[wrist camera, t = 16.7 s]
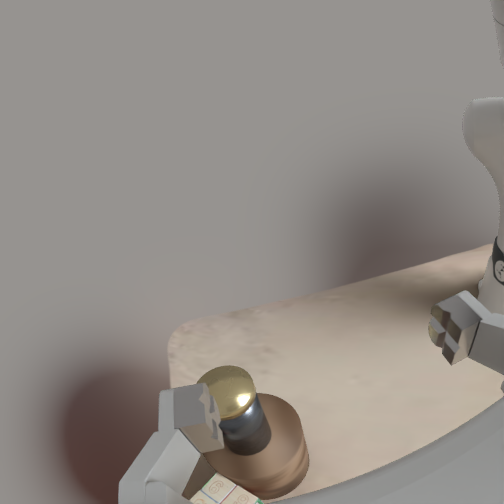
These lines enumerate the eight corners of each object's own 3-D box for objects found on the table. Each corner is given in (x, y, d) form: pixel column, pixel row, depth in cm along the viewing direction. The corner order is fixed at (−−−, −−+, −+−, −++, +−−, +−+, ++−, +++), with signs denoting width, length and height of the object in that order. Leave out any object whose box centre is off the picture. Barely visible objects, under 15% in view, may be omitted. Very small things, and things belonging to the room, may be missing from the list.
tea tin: (266, 410, 35) (247, 359, 30) (277, 449, 30) (258, 404, 25) (221, 422, 35) (192, 373, 30) (227, 461, 30) (195, 419, 25)
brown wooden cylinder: (297, 419, 43) (287, 382, 38) (319, 486, 32) (314, 462, 28) (220, 438, 42) (197, 405, 38) (230, 507, 32) (205, 487, 27)
